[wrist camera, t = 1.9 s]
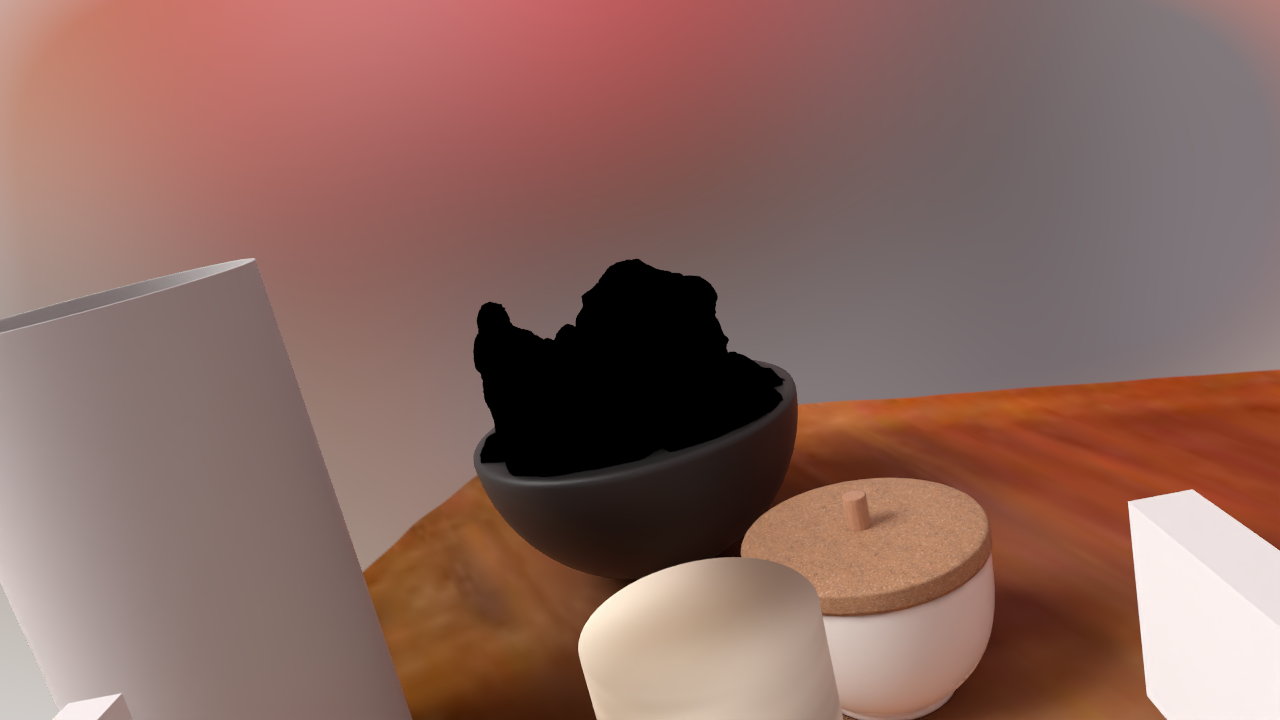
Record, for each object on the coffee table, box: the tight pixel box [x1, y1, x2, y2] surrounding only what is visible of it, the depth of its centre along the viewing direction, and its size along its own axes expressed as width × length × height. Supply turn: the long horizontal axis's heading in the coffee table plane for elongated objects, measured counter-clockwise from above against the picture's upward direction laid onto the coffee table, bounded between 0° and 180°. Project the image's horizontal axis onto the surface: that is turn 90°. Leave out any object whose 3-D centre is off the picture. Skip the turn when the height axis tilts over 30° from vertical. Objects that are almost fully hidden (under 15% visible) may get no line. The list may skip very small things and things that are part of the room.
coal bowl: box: [473, 259, 798, 579], centre depth 56 cm, size 20×20×19 cm
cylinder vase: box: [0, 258, 413, 720], centre depth 39 cm, size 12×12×25 cm
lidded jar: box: [741, 478, 995, 720], centre depth 41 cm, size 11×11×9 cm
